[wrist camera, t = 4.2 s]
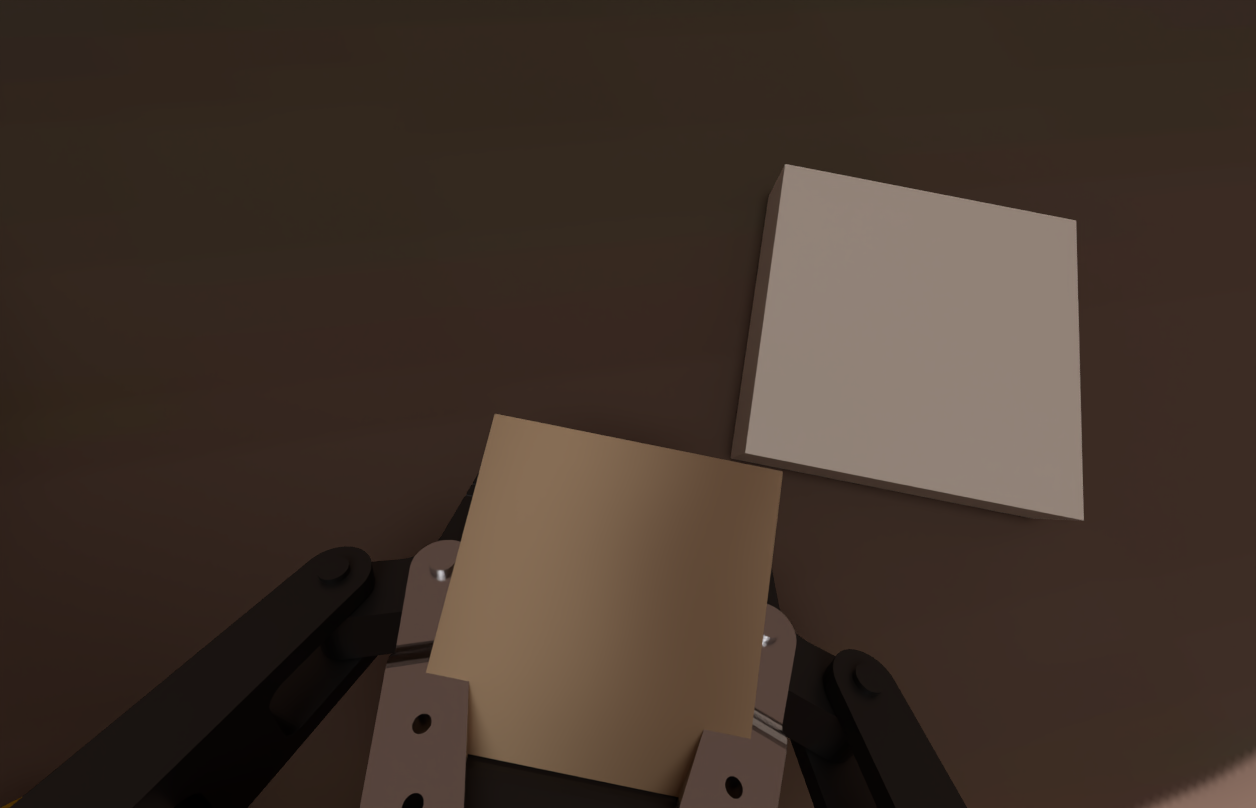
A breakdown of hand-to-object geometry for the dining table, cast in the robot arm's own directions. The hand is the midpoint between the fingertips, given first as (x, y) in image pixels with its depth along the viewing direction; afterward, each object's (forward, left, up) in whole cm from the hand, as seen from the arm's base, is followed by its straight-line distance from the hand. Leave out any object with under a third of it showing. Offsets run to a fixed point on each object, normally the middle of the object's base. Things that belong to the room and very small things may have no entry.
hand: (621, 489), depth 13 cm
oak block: (0, -2, -4) cm, 5 cm away
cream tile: (+10, +8, -4) cm, 14 cm away
